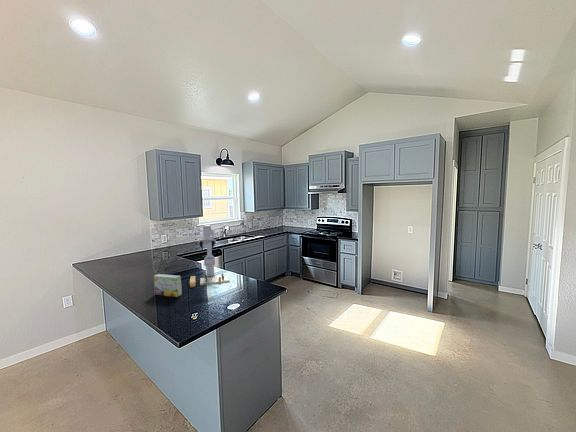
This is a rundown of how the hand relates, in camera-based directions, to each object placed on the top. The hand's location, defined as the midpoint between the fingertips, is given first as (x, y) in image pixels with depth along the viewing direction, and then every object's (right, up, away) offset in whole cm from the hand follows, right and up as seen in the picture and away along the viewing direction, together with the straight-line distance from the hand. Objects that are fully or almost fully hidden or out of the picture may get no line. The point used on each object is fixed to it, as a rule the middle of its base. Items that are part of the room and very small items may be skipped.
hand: (207, 249), depth 218 cm
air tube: (-14, -30, +6) cm, 33 cm away
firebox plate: (+3, -29, +12) cm, 31 cm away
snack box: (-24, -32, -18) cm, 44 cm away
